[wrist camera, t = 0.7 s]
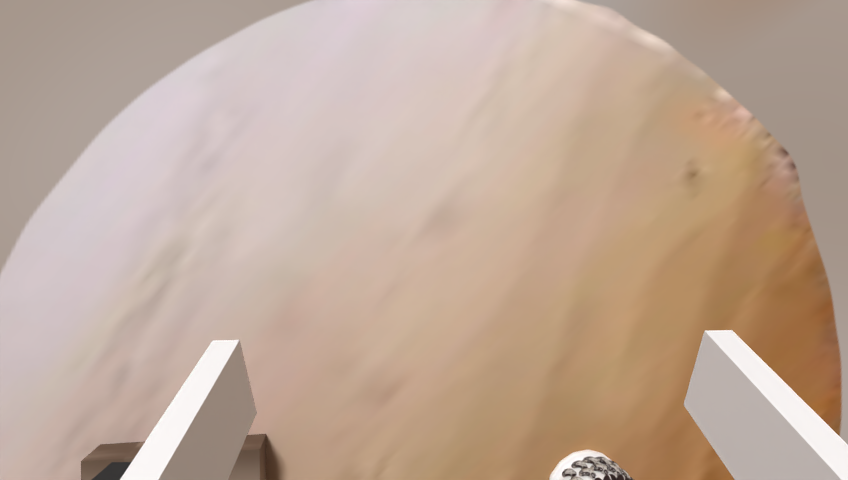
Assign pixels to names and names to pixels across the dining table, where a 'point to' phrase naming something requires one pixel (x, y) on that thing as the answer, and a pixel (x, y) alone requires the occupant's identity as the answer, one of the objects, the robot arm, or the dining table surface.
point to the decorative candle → (588, 467)
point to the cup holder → (244, 475)
